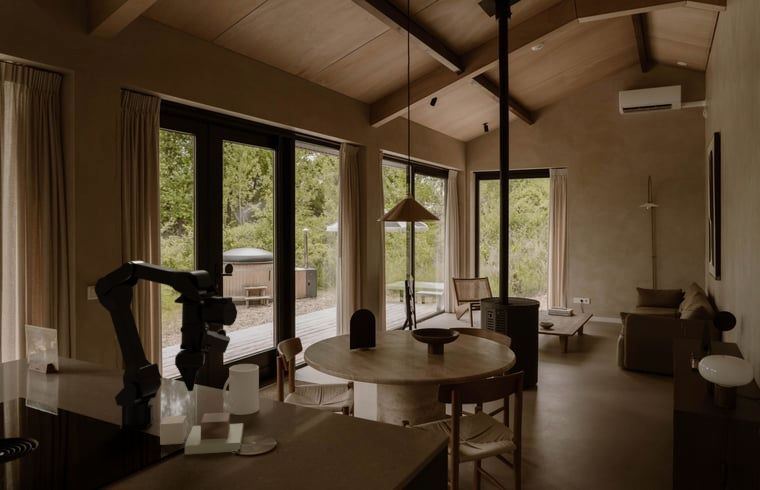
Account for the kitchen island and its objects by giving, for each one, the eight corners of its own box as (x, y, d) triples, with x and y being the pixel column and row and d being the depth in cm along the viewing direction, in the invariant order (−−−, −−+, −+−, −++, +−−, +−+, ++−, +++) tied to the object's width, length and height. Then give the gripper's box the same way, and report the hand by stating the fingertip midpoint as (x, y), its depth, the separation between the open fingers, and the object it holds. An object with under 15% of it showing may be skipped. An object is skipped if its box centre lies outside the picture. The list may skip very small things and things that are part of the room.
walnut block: (200, 439, 122) (200, 422, 122) (204, 429, 128) (204, 413, 128) (227, 438, 123) (227, 421, 123) (229, 428, 129) (229, 412, 129)
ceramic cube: (160, 445, 124) (160, 424, 123) (164, 436, 128) (164, 416, 128) (182, 443, 125) (182, 422, 124) (186, 435, 129) (186, 415, 129)
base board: (184, 454, 118) (184, 445, 118) (193, 434, 130) (193, 426, 130) (239, 451, 121) (239, 442, 121) (243, 431, 132) (243, 423, 132)
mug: (232, 420, 140) (232, 375, 139) (211, 413, 144) (212, 370, 144) (265, 408, 149) (266, 366, 149) (245, 402, 154) (245, 362, 154)
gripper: (226, 329, 122) (224, 396, 122) (230, 315, 140) (228, 373, 140) (175, 329, 119) (173, 398, 120) (185, 315, 137) (184, 374, 138)
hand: (192, 385), depth 130 cm, fingers open, 9 cm apart
